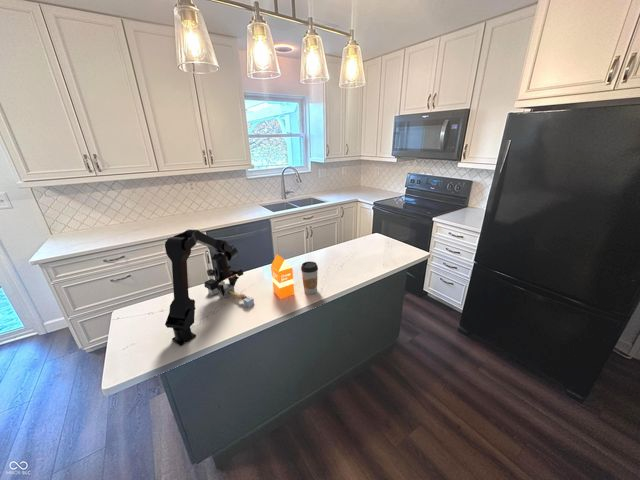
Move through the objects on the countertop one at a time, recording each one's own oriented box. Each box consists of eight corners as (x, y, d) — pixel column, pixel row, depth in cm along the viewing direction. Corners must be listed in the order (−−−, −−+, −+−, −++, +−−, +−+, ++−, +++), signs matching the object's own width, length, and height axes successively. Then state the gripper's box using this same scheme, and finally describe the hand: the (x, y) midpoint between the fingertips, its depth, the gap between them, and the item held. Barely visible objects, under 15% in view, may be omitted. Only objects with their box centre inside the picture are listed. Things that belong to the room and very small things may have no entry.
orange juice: (280, 299, 125) (276, 261, 118) (273, 291, 132) (269, 255, 125) (294, 293, 129) (292, 257, 122) (286, 286, 136) (283, 251, 129)
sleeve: (234, 293, 130) (233, 285, 129) (226, 297, 126) (225, 290, 125) (228, 290, 133) (227, 283, 131) (220, 294, 129) (218, 287, 127)
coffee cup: (304, 297, 126) (302, 269, 121) (300, 288, 134) (299, 262, 129) (320, 294, 128) (319, 266, 123) (316, 285, 136) (315, 260, 131)
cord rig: (257, 301, 123) (256, 292, 122) (244, 310, 117) (243, 301, 116) (222, 286, 138) (220, 278, 137) (208, 293, 132) (207, 284, 130)
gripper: (227, 254, 135) (232, 281, 141) (194, 268, 121) (201, 297, 126) (242, 259, 129) (246, 286, 135) (208, 274, 115) (214, 304, 120)
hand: (227, 293), depth 129 cm, fingers closed on sleeve, 5 cm apart
